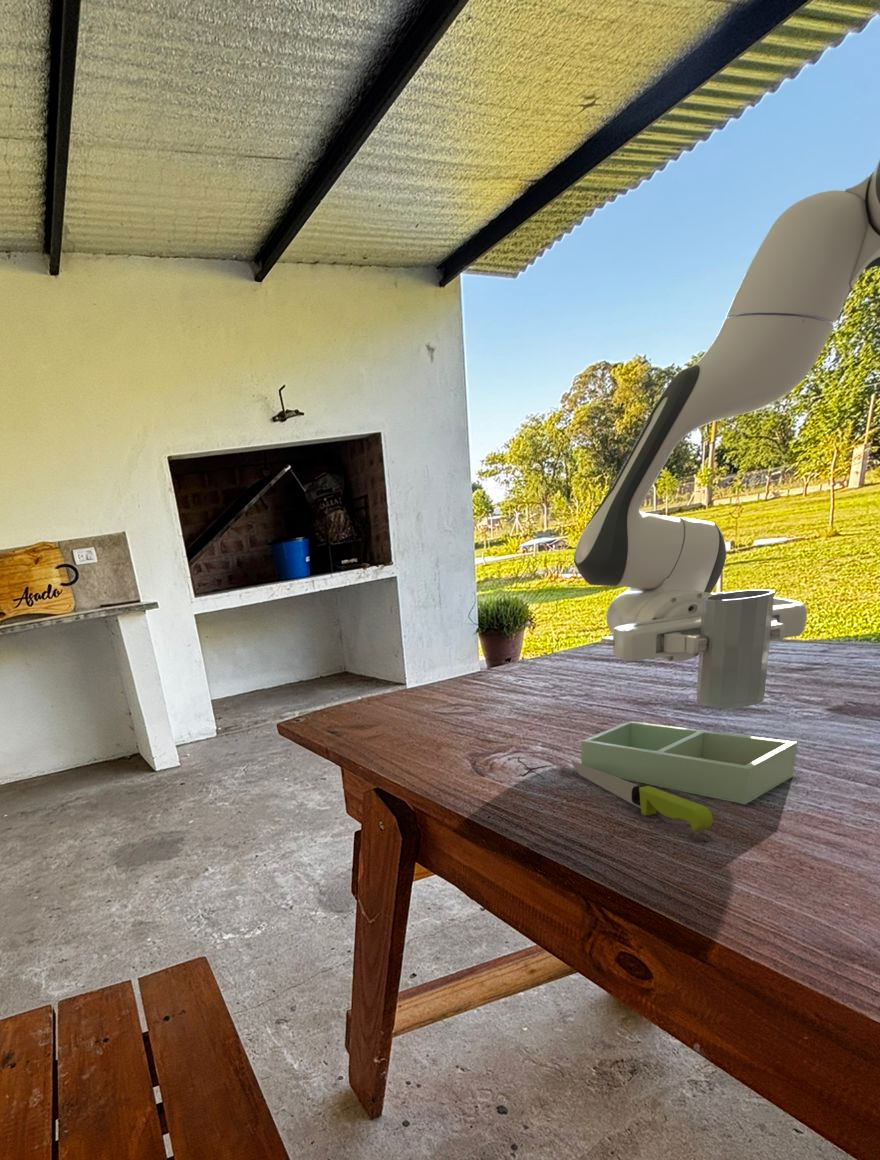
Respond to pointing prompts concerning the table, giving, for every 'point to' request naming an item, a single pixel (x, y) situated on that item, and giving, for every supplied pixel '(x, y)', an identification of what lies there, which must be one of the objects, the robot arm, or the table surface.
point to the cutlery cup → (735, 648)
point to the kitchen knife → (650, 798)
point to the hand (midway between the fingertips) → (739, 639)
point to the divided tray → (692, 759)
